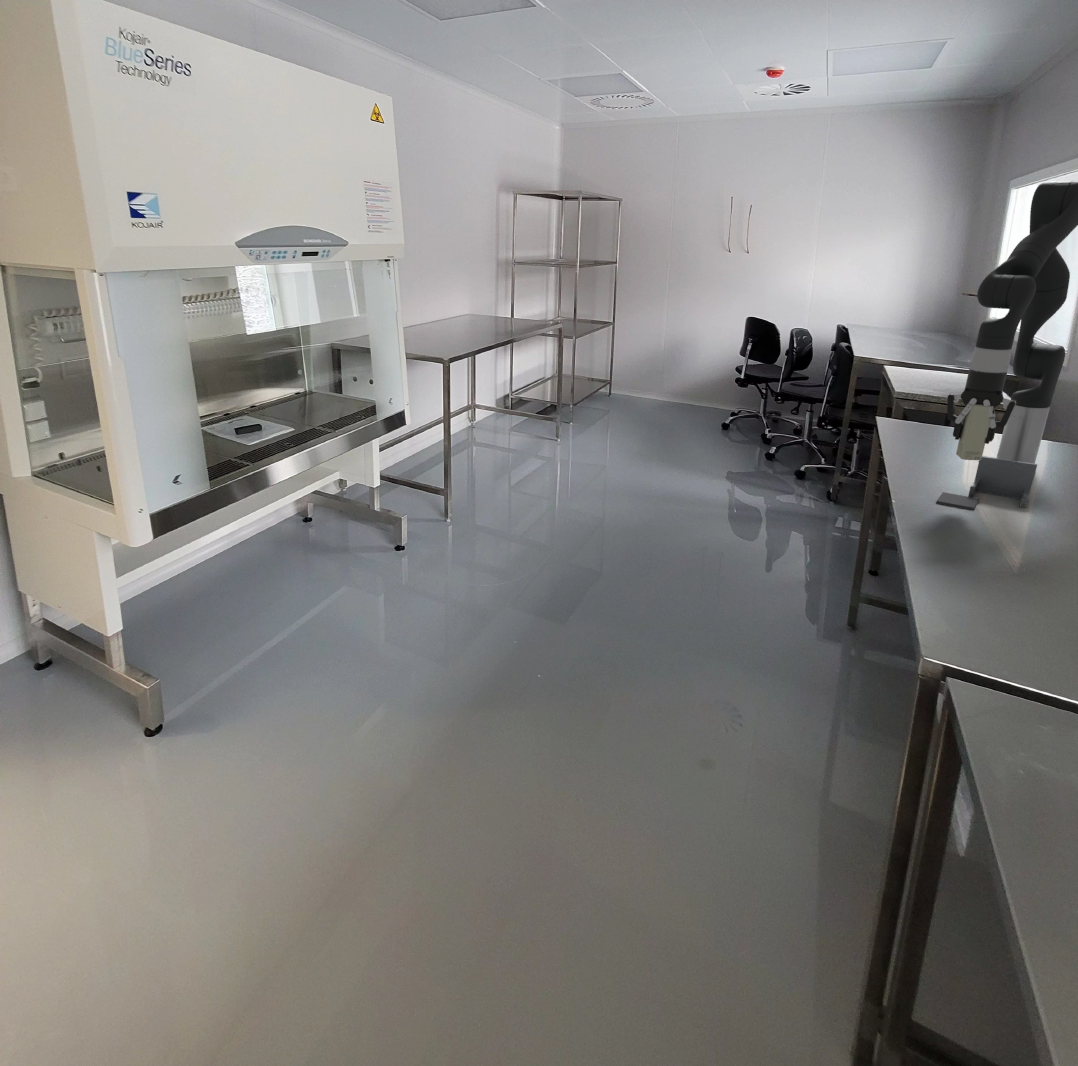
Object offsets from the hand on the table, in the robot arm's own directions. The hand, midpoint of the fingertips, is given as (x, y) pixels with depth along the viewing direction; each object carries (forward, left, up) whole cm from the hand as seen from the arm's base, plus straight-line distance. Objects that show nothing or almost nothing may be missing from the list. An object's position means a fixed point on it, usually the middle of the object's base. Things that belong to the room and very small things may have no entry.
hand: (971, 440), depth 172 cm
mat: (0, 0, -15) cm, 15 cm away
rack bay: (-8, +7, -15) cm, 19 cm away
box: (0, 0, -4) cm, 4 cm away
